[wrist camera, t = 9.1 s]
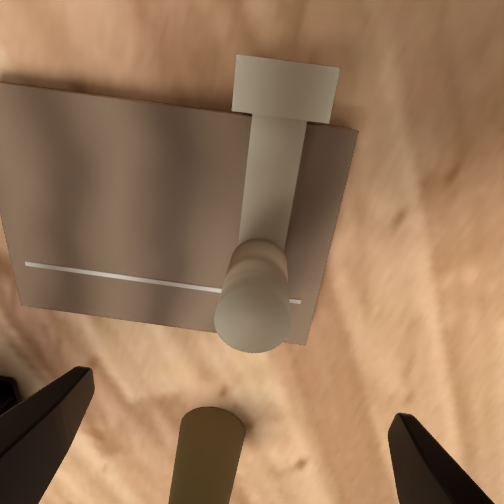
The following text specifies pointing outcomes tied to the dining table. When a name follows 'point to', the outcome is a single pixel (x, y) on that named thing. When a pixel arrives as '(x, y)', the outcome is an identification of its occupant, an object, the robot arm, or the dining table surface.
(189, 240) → the board
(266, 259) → the lever handle
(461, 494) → the robot arm
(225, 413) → the cork
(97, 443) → the dining table surface
